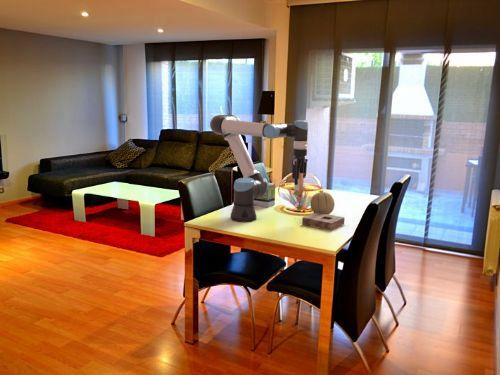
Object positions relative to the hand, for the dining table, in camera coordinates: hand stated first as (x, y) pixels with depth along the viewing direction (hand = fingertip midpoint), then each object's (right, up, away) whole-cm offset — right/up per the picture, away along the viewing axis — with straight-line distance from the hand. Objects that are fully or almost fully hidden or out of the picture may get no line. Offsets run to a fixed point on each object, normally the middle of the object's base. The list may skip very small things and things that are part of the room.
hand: (298, 189), depth 245 cm
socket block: (+14, -20, -1) cm, 24 cm away
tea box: (-20, -11, +43) cm, 48 cm away
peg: (0, -3, 0) cm, 3 cm away
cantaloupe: (+16, -16, +18) cm, 29 cm away
